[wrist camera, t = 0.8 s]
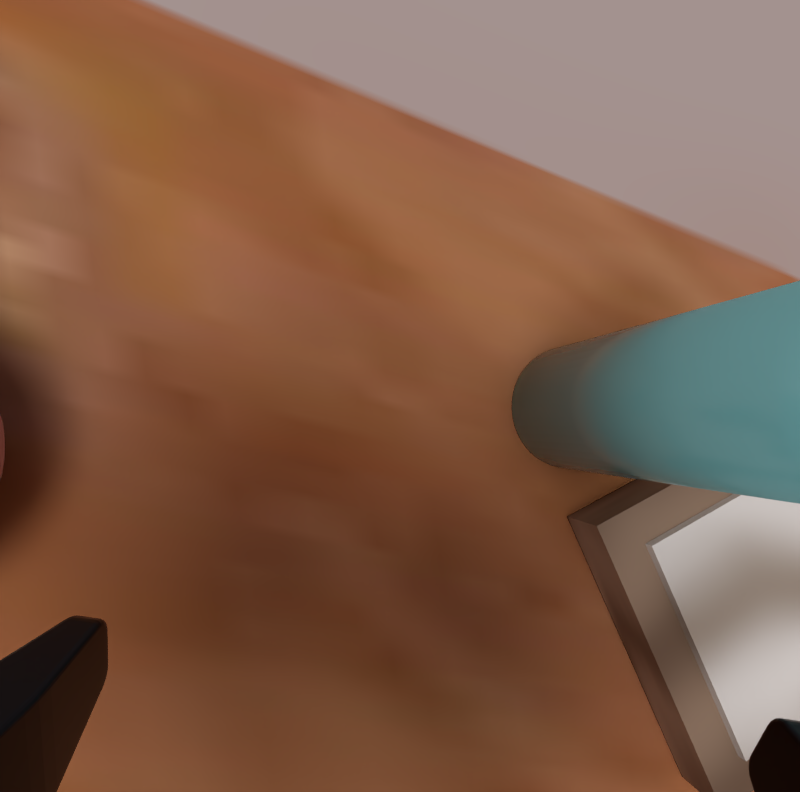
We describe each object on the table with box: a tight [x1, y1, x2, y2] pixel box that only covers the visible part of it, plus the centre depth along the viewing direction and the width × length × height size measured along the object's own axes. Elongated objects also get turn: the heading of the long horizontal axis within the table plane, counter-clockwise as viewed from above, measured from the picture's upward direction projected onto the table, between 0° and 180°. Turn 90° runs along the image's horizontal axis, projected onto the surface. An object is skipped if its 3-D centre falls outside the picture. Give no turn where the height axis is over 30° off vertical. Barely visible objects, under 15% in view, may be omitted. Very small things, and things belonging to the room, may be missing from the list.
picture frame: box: [568, 479, 800, 792], centre depth 24 cm, size 12×12×3 cm
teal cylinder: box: [512, 281, 800, 504], centre depth 18 cm, size 5×5×13 cm
